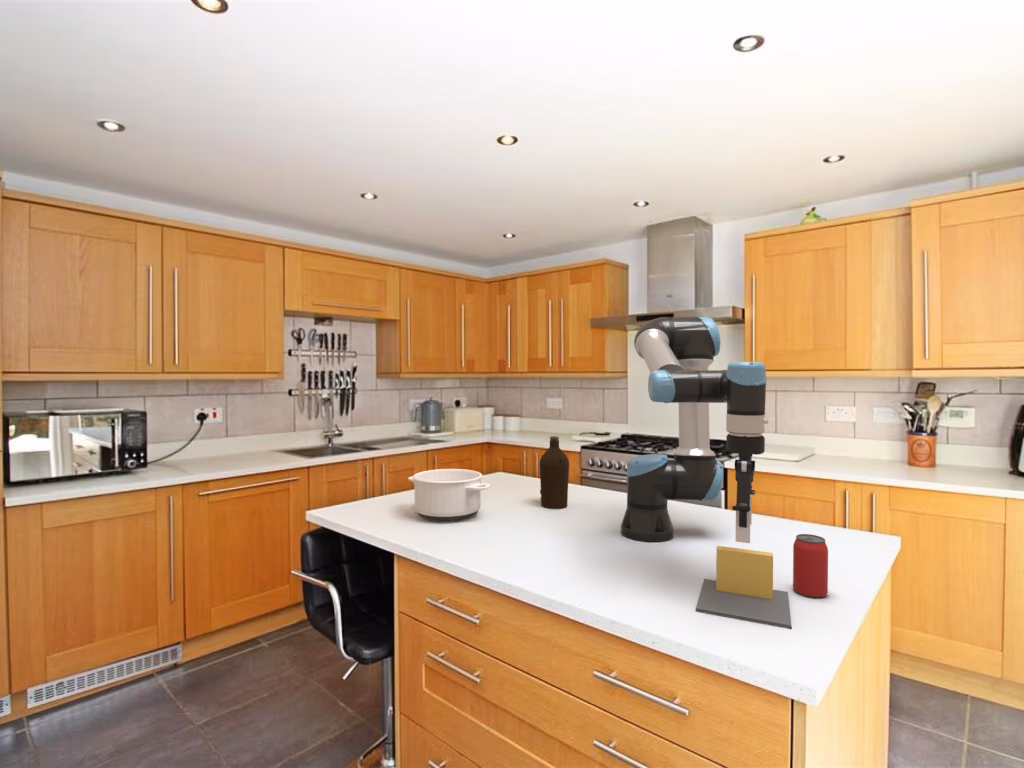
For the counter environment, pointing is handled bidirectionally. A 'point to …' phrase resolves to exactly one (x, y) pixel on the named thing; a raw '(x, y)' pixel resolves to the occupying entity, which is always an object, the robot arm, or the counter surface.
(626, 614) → the counter surface
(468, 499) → the pot
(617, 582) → the counter surface
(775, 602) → the mat
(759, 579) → the slab
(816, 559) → the beer can
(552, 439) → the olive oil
